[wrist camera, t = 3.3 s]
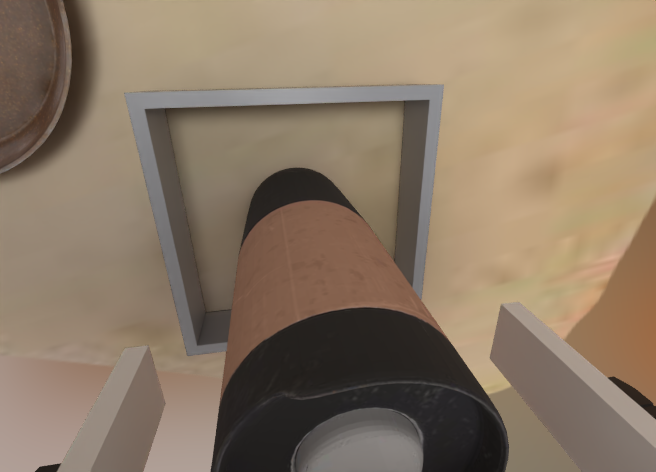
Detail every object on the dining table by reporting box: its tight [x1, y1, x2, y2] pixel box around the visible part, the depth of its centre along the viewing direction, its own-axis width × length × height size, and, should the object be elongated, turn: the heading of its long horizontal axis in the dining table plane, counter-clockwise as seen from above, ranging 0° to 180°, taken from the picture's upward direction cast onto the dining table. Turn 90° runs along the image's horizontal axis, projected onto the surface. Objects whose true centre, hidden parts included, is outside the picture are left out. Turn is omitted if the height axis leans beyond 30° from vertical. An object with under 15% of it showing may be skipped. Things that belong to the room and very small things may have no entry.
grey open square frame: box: [124, 84, 444, 356], centre depth 25 cm, size 18×18×4 cm
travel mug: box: [211, 168, 509, 472], centre depth 17 cm, size 8×8×20 cm
